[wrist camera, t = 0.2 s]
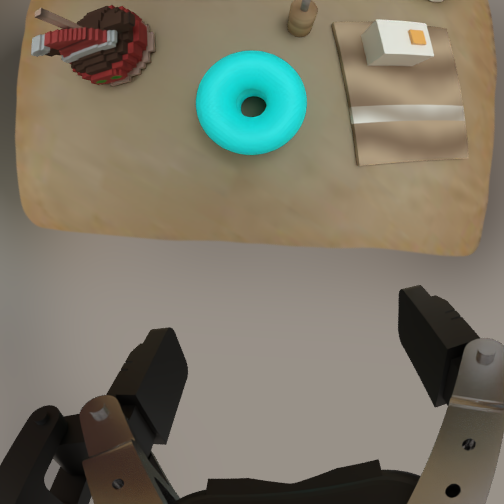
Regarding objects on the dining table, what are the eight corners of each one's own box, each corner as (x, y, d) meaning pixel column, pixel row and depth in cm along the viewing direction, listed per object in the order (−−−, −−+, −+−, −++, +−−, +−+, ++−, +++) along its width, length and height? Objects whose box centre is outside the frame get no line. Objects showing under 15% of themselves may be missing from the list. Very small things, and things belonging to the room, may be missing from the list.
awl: (285, 18, 30) (289, -13, 22) (308, 16, 30) (318, -15, 21) (289, 38, 31) (295, 10, 23) (313, 36, 31) (324, 8, 22)
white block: (360, 35, 29) (378, 17, 23) (405, 37, 29) (428, 21, 22) (367, 65, 30) (386, 52, 24) (412, 66, 30) (436, 55, 24)
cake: (160, 12, 30) (95, -52, 13) (163, 75, 33) (87, 36, 16) (88, 34, 31) (3, -2, 14) (89, 94, 34) (-7, 81, 17)
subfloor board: (331, 25, 30) (333, 21, 29) (442, 30, 28) (446, 28, 27) (356, 165, 36) (359, 165, 35) (464, 157, 34) (468, 158, 33)
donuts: (170, 110, 26) (242, 27, 23) (195, 117, 35) (249, 55, 32) (257, 178, 27) (331, 94, 24) (260, 169, 37) (315, 106, 34)
